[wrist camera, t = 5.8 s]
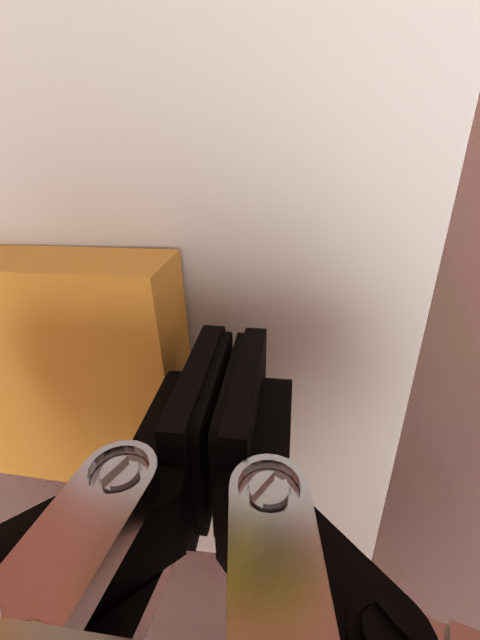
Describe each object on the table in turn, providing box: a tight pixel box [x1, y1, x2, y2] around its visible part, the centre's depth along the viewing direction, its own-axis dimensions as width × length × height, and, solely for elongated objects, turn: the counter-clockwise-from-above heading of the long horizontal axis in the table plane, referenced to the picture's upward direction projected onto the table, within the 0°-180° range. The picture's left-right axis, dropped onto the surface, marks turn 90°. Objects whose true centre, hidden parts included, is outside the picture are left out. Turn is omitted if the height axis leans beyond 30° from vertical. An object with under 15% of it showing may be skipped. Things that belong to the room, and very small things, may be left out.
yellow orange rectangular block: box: [0, 245, 191, 482], centre depth 12 cm, size 7×10×2 cm
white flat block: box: [0, 0, 480, 560], centre depth 13 cm, size 20×12×2 cm, turn 1°
